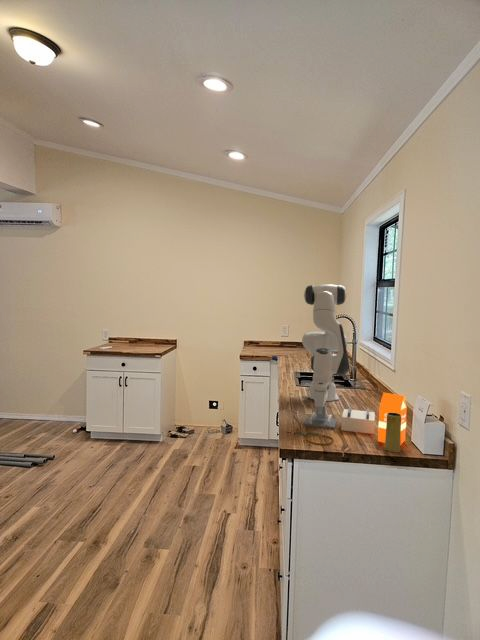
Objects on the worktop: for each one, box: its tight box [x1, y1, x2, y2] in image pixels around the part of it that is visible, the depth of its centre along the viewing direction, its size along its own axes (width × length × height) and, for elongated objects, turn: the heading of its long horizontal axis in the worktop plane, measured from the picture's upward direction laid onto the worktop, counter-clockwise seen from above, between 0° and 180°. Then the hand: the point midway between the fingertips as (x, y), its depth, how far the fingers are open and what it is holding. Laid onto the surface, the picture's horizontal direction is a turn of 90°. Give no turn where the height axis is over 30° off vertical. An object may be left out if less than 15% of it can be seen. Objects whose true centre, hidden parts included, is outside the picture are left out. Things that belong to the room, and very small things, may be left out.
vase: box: [383, 412, 402, 453], centre depth 164 cm, size 6×6×14 cm
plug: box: [315, 404, 327, 419], centre depth 197 cm, size 4×4×6 cm
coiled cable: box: [299, 429, 334, 446], centre depth 175 cm, size 12×16×2 cm
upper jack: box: [340, 405, 376, 435], centre depth 192 cm, size 14×14×8 cm
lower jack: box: [303, 411, 338, 430], centre depth 197 cm, size 14×14×3 cm
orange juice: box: [377, 391, 408, 445], centre depth 174 cm, size 8×9×20 cm
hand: (321, 412), depth 197 cm, fingers closed on plug, 4 cm apart
